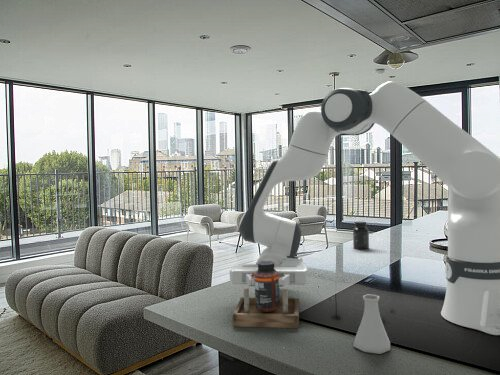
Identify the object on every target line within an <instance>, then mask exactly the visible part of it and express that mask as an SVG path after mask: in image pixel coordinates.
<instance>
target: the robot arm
mask: <svg viewBox="0 0 500 375" xmlns="http://www.w3.org/2000/svg"><path fill="white" fill-rule="evenodd" d="M320 106H321V107H320V109H316V108H315V109H309V110H306V111H304V112H303V113H302V114H301V116H300V117H299V119H298V122H297V123H296V126H295V127H294V130H293V133H292V135H291V138H290V141H289V144H288V147H287V150H286V151H285V152H284V153H283V155H282V156H281V157H279V158H275V159H274V160H273V161H272V162H271V164H270V165H269V166H268V167H267V170H266V172H265V174H264V175H263V178H262V180H261V181H260V184H259V186H258V187H257V190H256V191H255V194H254V196H253V198H252V200H251V202H250V204H249V206H248V208H247V209H246V210H245V212H244V213H243V215H242V216H241V218H240V220H239V224H238V232H239V234H240V236H241V238H242V239H243V240H244V241H245V242H249V243H253V244H257V245H258V244H259V245H262V246H264V247H265V248H264V249H263V250H262V252H261V253H260V255H259V257H258V259H257V261H256V262H255V263H251V264H250V263H249V264H248V263H247V264H245V263H243V264H237V265H234V266H233V267H231V268H230V270H229V282H230V284H232V285H248V286H249V287H255V278H254V274H255V272H256V271H257V270H258V262H261V261H273V262H274V269H275V270H276V271H277V272H278V274H279V279H278V282H279V284H278V285H279V287H281V288H282V287H283V288H286V287H285V286H286V285H297V286H298V285H301V286H303V285H308V284H309V283H310V282H309V277H310V276H309V267H308V265H307V264H306V263H305V262H304V261H303V257H301V256H296V255H297V253H298V252H299V248H300V246H301V239H302V228H301V226H300V224H299V223H298V221H296V220H293V219H290V218H287V217H283V216H280V215H276V214H274V213H273V214H272V213H269V212H267V211H265V210H264V207H265V205H266V203H267V202H268V199H269V197H270V195H271V193H272V191H273V189H274V188H275V186H277V185H278V184H281V183H286V182H296V181H297V182H299V181H306V180H309V179H312V178H314V177H316V176H317V175H318V174H320V173H321V171H322V169H323V168H324V166H325V164H326V160H327V157H328V154H329V153H330V152H329V151H330V147H331V145H332V142H333V141H334V139H335V138H336V137H337V136H340V137H341V136H360V135H364V134H365V133H367V132H369V131H370V130H371V129H372V128H374V126H375V124H377V125H378V126H380V127H382V128H383V129H384V130H385V131H387V132H388V133H389V134H390V135H391V136H392V137H393V138H394V139H396V140H397V141H398V142H399V143H400V144H401V145H403V146H404V147H405V148H406V149H407V150H408V151H409V152H410V153H412V154H413V155H414V156H415V157H416V158H417V159H418V160H419V161H420V162H421V163H422V164H423V165H424V166H425V167H426V168H428V170H429V171H431V172H432V173H433V174H434V175H435V176H436V177H437V178H439V180H440V181H442V183H443V184H445V185H446V186H447V188H448V190H447V191H448V192H447V193H448V194H447V195H448V197H447V199H448V200H447V255H446V256H445V268H444V270H445V278H446V281H447V282H446V289H445V296H444V301H443V306H442V308H441V311H440V314H441V317H443V318H444V319H445V320H447V321H448V322H451V323H453V324H456V325H458V326H461V327H464V328H465V327H466V328H469V329H473V330H478V331H480V332H484V333H486V334H488V335H493V336H500V157H499V156H497V154H496V153H494V152H493V151H491V149H489V148H487V146H485V145H484V144H482V143H481V142H480V141H479V140H478V139H476V137H475V138H474V136H472V135H471V134H469V133H468V132H467V131H465V129H463V128H461V127H460V126H458V124H456V123H455V122H453V121H452V120H451V119H449V118H448V117H447V116H446V115H445V114H443V113H442V112H441V111H440V110H438V109H437V108H436V107H435V106H434V105H432V104H431V103H430V102H429V101H427V100H426V99H425V98H424V97H423V96H421V95H419V94H418V93H416V92H415V91H413V90H412V89H410V88H408V86H407V87H406V86H405V85H403V84H402V83H400V82H398V81H391V80H390V81H387V82H383V83H381V84H380V85H379V86H377V87H376V89H374V91H372V92H371V93H369V92H368V91H367V90H363V89H359V88H358V89H356V88H351V87H339V88H335V89H333V90H330V92H328V93H327V94H326V95H325V96H324V98H323V100H322V102H321V105H320Z"/></svg>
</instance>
